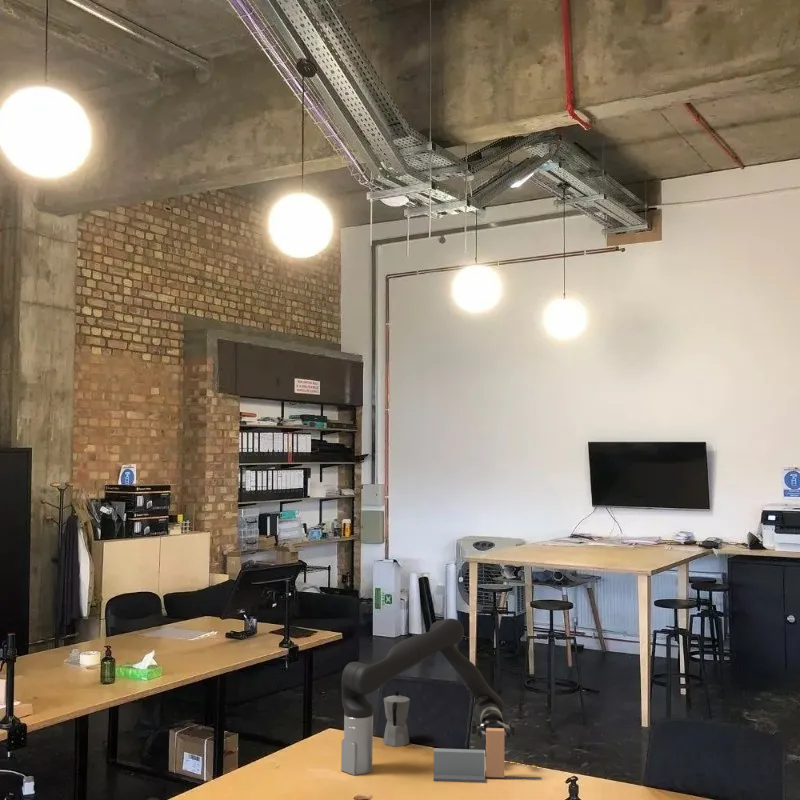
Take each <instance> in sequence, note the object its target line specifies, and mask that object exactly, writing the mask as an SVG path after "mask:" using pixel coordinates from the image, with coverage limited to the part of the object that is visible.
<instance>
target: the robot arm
mask: <svg viewBox="0 0 800 800" xmlns="http://www.w3.org/2000/svg"><path fill="white" fill-rule="evenodd" d="M464 634H465V629H464V626H463V624H462V623H461V621H460V620H458V619H456V618H452V617H451V618H445V619H441V620H437V621H435V622H433V623H432V624H431V625H430V627H429V631H427V632H424V633H420V634H416V635H413V636H410V637H408V638H406V639H403V640H402V641H399V642H398V643H396V644H395V645H393V646H392V647H391V648H390V649H389V650H388V652H387V655H386V657H385V658H383V659H382V660H380V661H377V662H375V663H372V664H366V663H364V662H363V663H362V662H358V661H351V662H348V664H346V665H345V667H344V668H343V671H342V675H341V703H342V707H343V710H344V714H343V715H344V718H343V719H344V721H343V724H344V725H343V726H344V727H343V739H342V740H341V751H340V752H341V754H340V756H341V758H340V759H341V763H340V765H341V766H340V770H341V772H345V773H347V774H350V775H353V776H356V775H364V774H369V773H371V772H372V771H373V753H374V752H373V746H374V745H373V742H374V739H373V737H374V707H373V704H372V703H371V702H370V701H369V699H368V698H367V697H366V695H370V694H373V693H374V692H376V691H377V690H378V689H380V688H381V687H382V686H384V685H385V684H386V683H388V682H389V681H391V680H392V679H393V678H396V677H397V676H399V675H401V674H402V673H404V672H406V671H408V670H411V669H413V668H414V667H416V666H418V665H420V664H421V663H422V662H425V660H427V659H429V658H430V657H432V656H433V655H435V654H436V653H439V652H440V653H441V654H442V656H443V657H444V658H445V660H446V661H447V662H448V663H449V664H450V665H451V667H452V668H453V670H454V671H455V672H456V674H458V676H459V678H460V679H461V681H462V683H463V684H464V686H465V688H466V689H467V691H468V690H469V688H470V687H471V688H472V689H471V688H470V690H471V691H470V690H469V691H470V693H472V696H473V692H474V697H473V698H480V697H484V696H485V698H483V699H481V700H480V701H478V702H477V703H476V704H475V706H474V712H475V714H476V716H477V717H478V719H479V720H480V723H478V722H477V721H475V720H474V721H473V720H472V722H471V735H475V734H476V735H477V737H479V738H483V737H482V736H483V735H485V736H486V728H504V736H505V740H506V739H509V738H511V736H516V725H515V723H514V722H512V721H511V722H509V723H508V724H506V723H505V722H504V719H503V715H502V713H503V712H504V710H505V708H506V707H505V702H504V700H503V699H502V698H501V697H500V696H499V694H498V693H496V692H495V691H494V689H492V687H490V685H489V684H488V683H487V681H486V680H485V679H484V677H483V674H482V673H481V671H480V670H479V668H478V667H477V665H475V664H474V663H473V662H472V661H470V660H469V659H468V658H467V657H466V656H465V655H463V654H462V653H461V652H460V650H458V648H457V647H456V645H457V644H459V643H460V642H461V641H462V640H463V637H464ZM468 685H469V686H470V687H469V686H468ZM466 686H467V687H466ZM469 691H468V692H469ZM470 693H469V694H470ZM472 696H471V697H472Z"/></svg>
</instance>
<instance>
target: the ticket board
mask: <svg viewBox="0 0 800 800" xmlns="http://www.w3.org/2000/svg"><path fill="white" fill-rule="evenodd" d="M486 778H487V779H512V780H536V779H541V780H542V777H539V776H538V777H537V776H536V777H535V776H514V775H513V776H512V775H511V776H510V775H508V776H507V775H504V777H486V749H468V748H467V749H464V748H441V747H440V748H435V747H434V749H433V780H432V781H433V782H450V783H451V782H453V783H454V782H456V783H476V784H478V783H479V784H480V783H481V784H482V783H483V784H485V783H486Z"/></svg>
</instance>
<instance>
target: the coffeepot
mask: <svg viewBox="0 0 800 800" xmlns="http://www.w3.org/2000/svg"><path fill="white" fill-rule="evenodd" d="M399 693H400V691H399V690H397V689H395V690H394V695H389V696H385V697H384V698H383V704H384V713H385V718H386V720H387V721H386V723H385V728H384V729H385V730H384V734H383V743H385V744H384V745H386V746H388V747H393V748H394V747H396V748H397V747H404V746H407V745H408V744H409V743H410V738H409V736H410V735H409V732H408V725H407V719H408V716H409V708H410V701H411V699H410V698H409V697H407V696H405V695H404V696H403V695H400V694H399Z"/></svg>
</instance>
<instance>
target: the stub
mask: <svg viewBox="0 0 800 800" xmlns="http://www.w3.org/2000/svg"><path fill="white" fill-rule="evenodd" d="M485 740H486V741H485V742H486V743H485V778H487V777H504V776H505V735H504V728H486V734H485Z"/></svg>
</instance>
